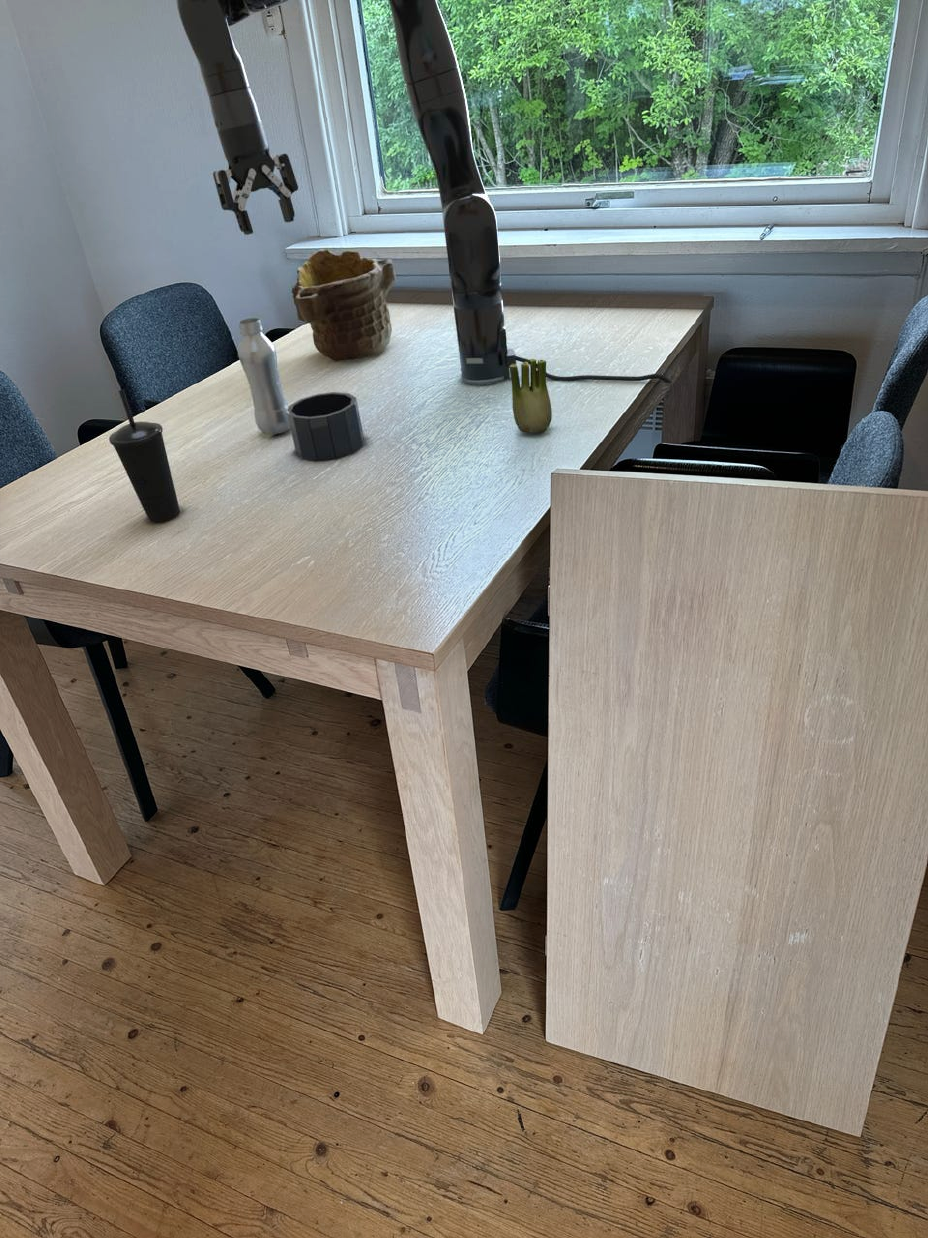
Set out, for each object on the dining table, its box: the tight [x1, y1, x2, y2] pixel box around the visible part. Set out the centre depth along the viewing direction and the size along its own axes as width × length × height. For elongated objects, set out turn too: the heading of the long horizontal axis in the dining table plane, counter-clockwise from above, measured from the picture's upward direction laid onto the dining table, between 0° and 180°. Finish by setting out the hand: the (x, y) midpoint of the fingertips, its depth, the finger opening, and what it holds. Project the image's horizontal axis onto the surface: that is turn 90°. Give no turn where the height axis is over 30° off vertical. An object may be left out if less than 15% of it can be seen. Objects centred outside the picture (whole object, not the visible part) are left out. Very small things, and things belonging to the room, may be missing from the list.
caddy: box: [286, 391, 365, 462], centre depth 149 cm, size 12×12×8 cm
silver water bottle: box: [237, 317, 291, 435], centre depth 154 cm, size 6×7×20 cm
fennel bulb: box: [509, 358, 553, 435], centre depth 142 cm, size 6×5×12 cm
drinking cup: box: [108, 389, 181, 524], centre depth 130 cm, size 8×8×20 cm
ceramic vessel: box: [291, 248, 397, 362], centre depth 188 cm, size 23×24×25 cm
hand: (269, 227), depth 153 cm, fingers open, 8 cm apart
